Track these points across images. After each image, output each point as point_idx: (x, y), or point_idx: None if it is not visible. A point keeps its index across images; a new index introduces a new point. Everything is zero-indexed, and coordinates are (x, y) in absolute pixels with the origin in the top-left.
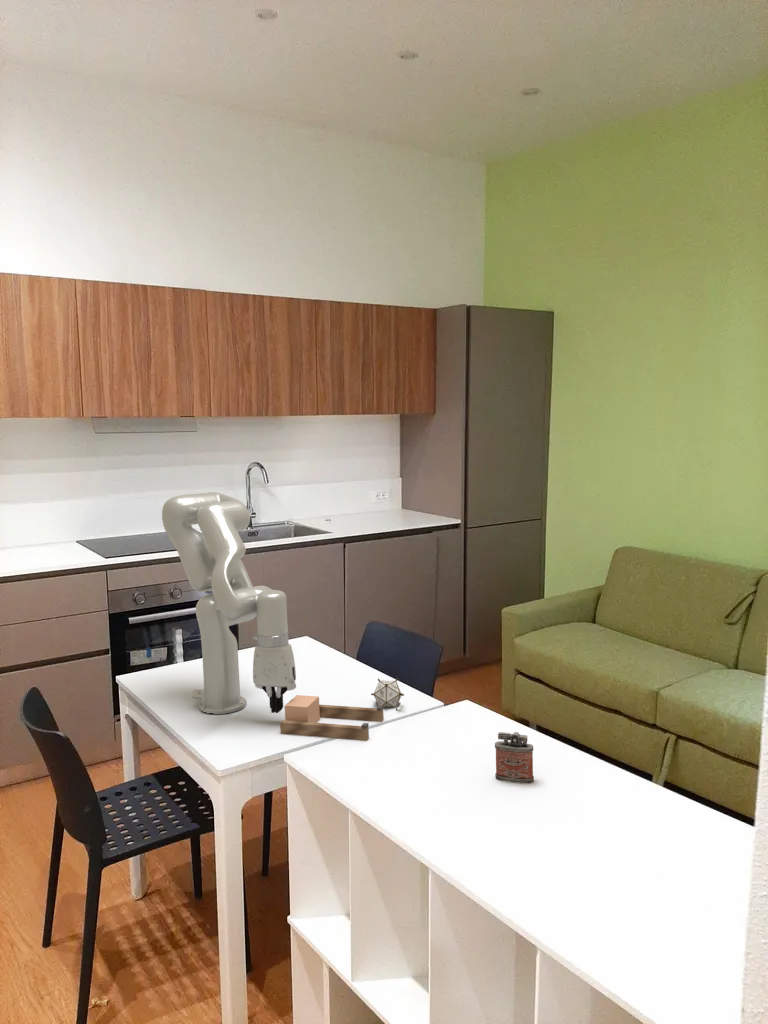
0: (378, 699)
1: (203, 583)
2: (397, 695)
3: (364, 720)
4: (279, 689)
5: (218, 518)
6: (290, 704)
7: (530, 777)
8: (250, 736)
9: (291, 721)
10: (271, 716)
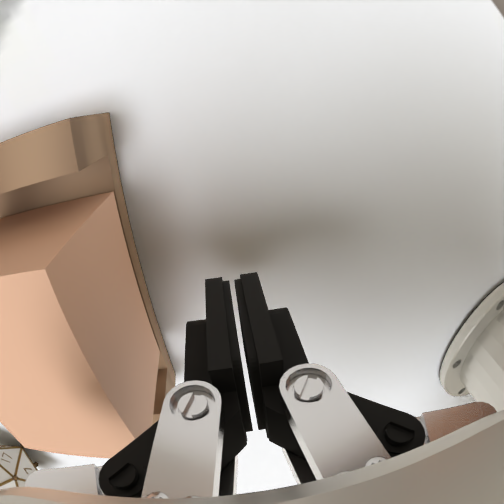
0: (6, 462)
1: None
2: None
3: None
4: (169, 471)
5: None
6: (25, 313)
7: None
8: (310, 82)
9: (12, 177)
10: (324, 348)
